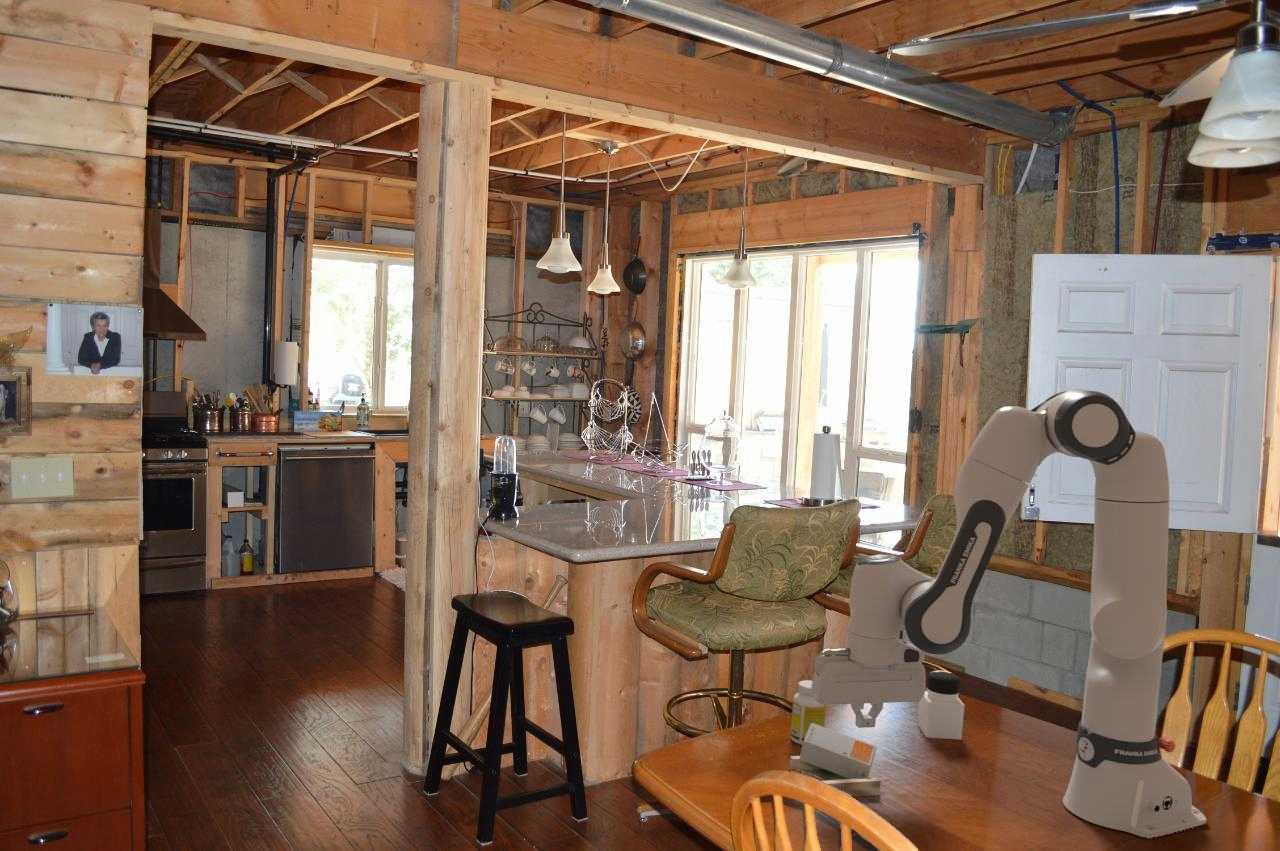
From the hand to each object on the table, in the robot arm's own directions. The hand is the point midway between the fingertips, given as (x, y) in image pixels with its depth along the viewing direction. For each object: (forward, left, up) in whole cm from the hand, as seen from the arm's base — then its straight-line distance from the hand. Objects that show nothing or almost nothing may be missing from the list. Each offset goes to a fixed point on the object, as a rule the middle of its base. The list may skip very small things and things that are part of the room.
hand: (865, 726), depth 177 cm
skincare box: (-2, +1, -7) cm, 7 cm away
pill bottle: (+2, -18, -10) cm, 21 cm away
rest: (+5, 0, -10) cm, 11 cm away
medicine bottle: (-27, -19, -10) cm, 34 cm away
